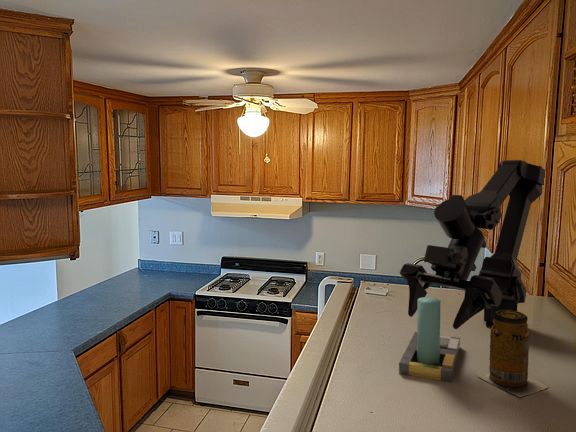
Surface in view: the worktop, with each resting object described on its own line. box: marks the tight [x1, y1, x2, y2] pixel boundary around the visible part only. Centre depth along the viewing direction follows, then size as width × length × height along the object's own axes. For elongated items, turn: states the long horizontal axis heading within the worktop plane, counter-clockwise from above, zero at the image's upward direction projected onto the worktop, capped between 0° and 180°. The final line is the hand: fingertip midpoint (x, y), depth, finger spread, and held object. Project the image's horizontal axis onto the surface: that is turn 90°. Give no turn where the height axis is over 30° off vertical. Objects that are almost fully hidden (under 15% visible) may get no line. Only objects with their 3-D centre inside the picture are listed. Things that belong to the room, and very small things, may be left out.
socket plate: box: [398, 331, 461, 383], centre depth 89 cm, size 9×16×2 cm, turn 154°
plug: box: [416, 296, 441, 366], centre depth 84 cm, size 4×4×13 cm
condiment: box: [477, 310, 549, 398], centre depth 78 cm, size 7×8×12 cm
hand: (431, 321), depth 85 cm, fingers open, 9 cm apart
